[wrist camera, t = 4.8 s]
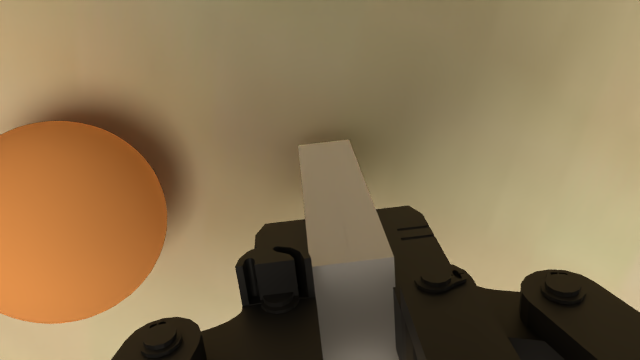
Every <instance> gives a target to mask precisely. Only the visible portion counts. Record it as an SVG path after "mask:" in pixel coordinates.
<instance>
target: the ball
mask: <svg viewBox="0 0 640 360" xmlns="http://www.w3.org/2000/svg"><path fill="white" fill-rule="evenodd" d="M166 230H167V209H166V201H165V198H164V194H163V190H162V188H161V185H160V183H159V180H158V178H157V176H156V174H155V173H154V171H153V169H152V168H151V166H150V165H149V164H148V162H147V161H146V160H145V158H144V157H143V156H142V155H141V154H140V153H139V152H138V151H137V150H136V149H135V148H133V147H132V146H131V145H130V144H128V143H127V142H126V141H124V140H123V139H121V138H119V137H118V136H116V135H114V134H112V133H110V132H108V131H106V130H104V129H101V128H98V127H95V126H92V125H88V124H83V123H78V122H69V121H46V122H39V123H33V124H28V125H25V126H21V127H17V128H15V129H13V130H10V131H8V132H6V133H4V134H1V135H0V313H2V314H4V315H7V316H9V317H12V318H16V319H19V320H23V321H29V322H35V323H47V324H53V323H65V322H72V321H78V320H82V319H86V318H89V317H92V316H94V315H97V314H99V313H102V312H104V311H106V310H108V309H110V308H112V307H114V306H115V305H117V304H118V303H120V302H121V301H122V300H124V299H125V298H126V297H128V296H129V295H131V294H132V293H133V292H134V291H135V290H136V289H137V288H138V287H139V286H140V285H141V284H142V282H143V281H144V280H145V279H146V277H147V276H148V275H149V274H150V272H151V270H152V269H153V267H154V265H155V263H156V261H157V259H158V258H159V256H160V253H161V250H162V247H163V244H164V240H165V235H166Z"/></svg>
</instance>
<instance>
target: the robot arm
mask: <svg viewBox="0 0 640 360" xmlns="http://www.w3.org/2000/svg"><path fill="white" fill-rule="evenodd" d="M298 150H299V160H300V171H301V181H302V191H303V201H304V212H305V219H303V220H294V221H286V222H277V223H269V224H265V225H264V226H263V227H262V228H261V229H260V231H259V232H258V233H257V234H256V236H255V249H253V250H250V251H248V252H247V253H246V254H244V255H243V256H242V257H241V258H240V259H239V260H238V262H237V264H236V266H235V268H236V273H237V279H238V284H239V289H240V295H241V300H242V312H241V313H240V314H239V315H237V316H236V317H234V318H233V319H231V320H230V321H228V322H226V323H224V324H221V325H219V326H216V327H213V328H210V329H208V330H205V331H202V332H201V331H200V328H199V326H198V325H197V324H196V323H195V322H193V321H192V320H190V319H186V318H180V317H173V318H163V319H160V320H157V321H154V322H151V323H148V324H146V325H145V326H143V327H141V328H139V329H138V330H136V331H135V332H134V333H133V334H132V335H131V336H130V337H129V338H128V339H127V340H126V341H125V342H124V343H123V344H122V346H121V347H120V349H119V350H118V351H117V353H116V354H115V355H114V357H113V358H112V359H111V360H640V312H638V311H637V310H635V309H634V308H632V307H631V306H629V305H628V304H626V303H625V302H624V301H622V300H621V299H619V298H618V297H616V296H615V295H613V294H612V293H610V292H609V291H607V290H606V289H604V288H603V287H602V286H600V285H599V284H597V283H596V282H594V281H592V280H590V279H588V278H586V277H584V276H582V275H580V274H576V273H573V272H569V271H565V270H543V271H536V272H534V273H532V274H530V275H528V276H526V277H525V279H524V280H523V281H522V283H521V291H520V292H513V291H501V290H492V289H486V288H482V287H479V286H477V285H476V284H475V282H474V280H473V279H472V277H471V276H470V275H469V274H468V273H467V272H466V271H465V270H463V269H461V268H459V267H457V266H455V265H451V264H450V263H449V261H448V259H447V257H446V255H445V254H444V252H443V250H442V248H441V247H440V245H439V243H438V241H437V239H436V238H435V237H434V234H433V232H432V230H431V229H430V227H429V225H428V223H427V221H426V220H425V218H424V216H423V214H421V213H420V212H418V211H417V210H415V209H413V208H412V207H410V206H401V207H393V208H384V209H375V206H374V203H373V201H372V198H371V195H370V193H369V190H368V188H367V185H366V182H365V180H364V177H363V175H362V172H361V169H360V167H359V164H358V161H357V159H356V156H355V154H354V151H353V148H352V146H351V143H350V141H349V139H348V140H339V141H330V142H321V143H312V144H303V145H298Z"/></svg>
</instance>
